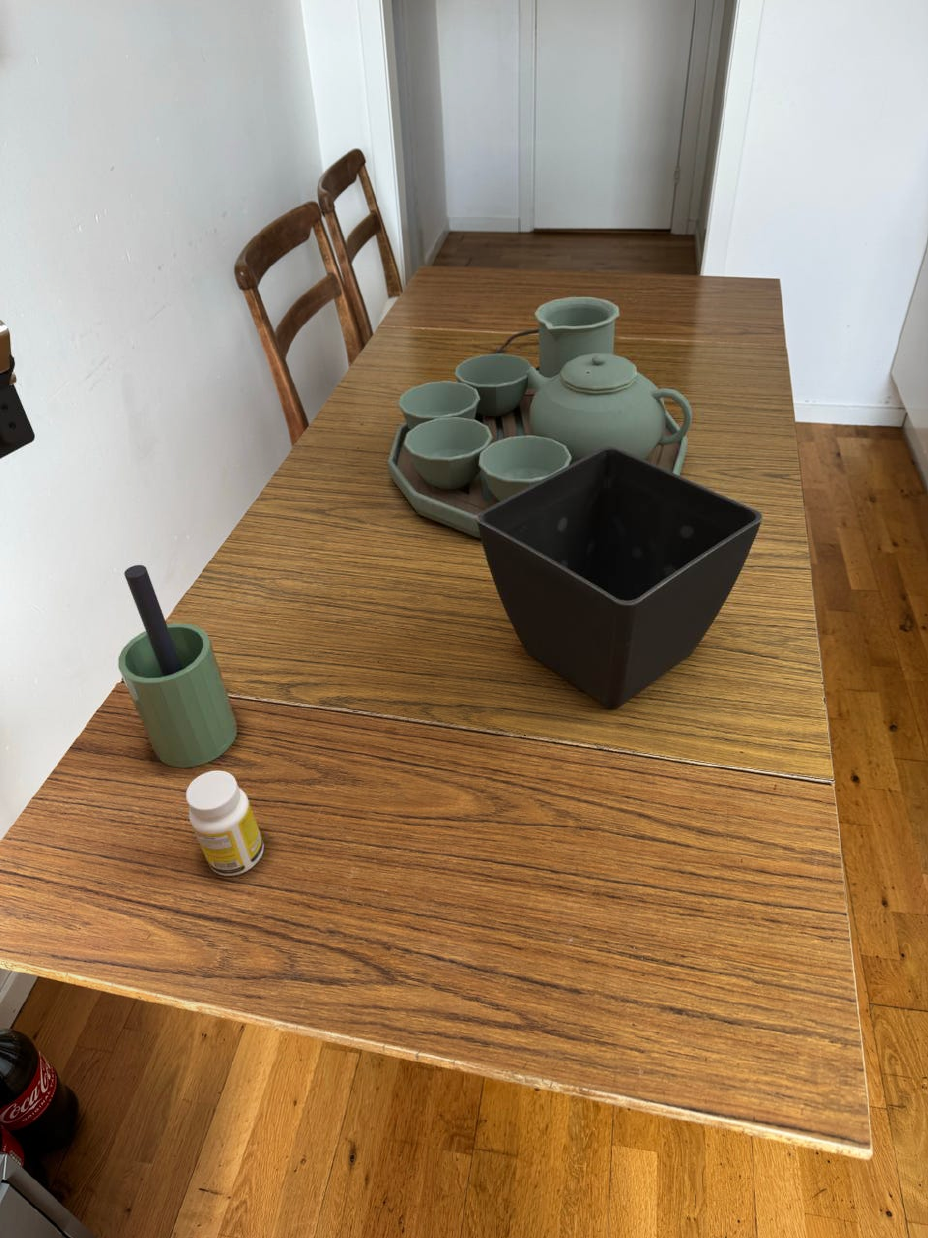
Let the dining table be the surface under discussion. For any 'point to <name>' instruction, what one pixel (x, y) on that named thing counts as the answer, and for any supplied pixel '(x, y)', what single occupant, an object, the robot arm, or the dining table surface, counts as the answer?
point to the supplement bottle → (224, 823)
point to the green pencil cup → (180, 698)
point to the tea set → (530, 417)
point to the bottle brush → (153, 619)
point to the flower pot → (615, 568)
